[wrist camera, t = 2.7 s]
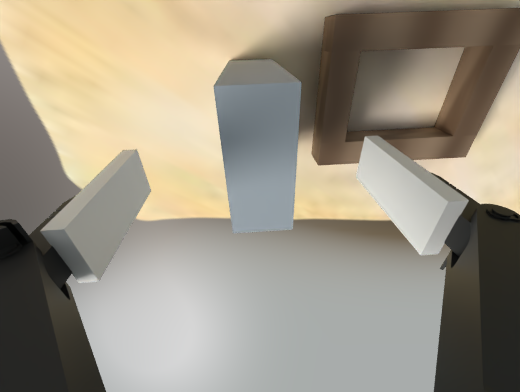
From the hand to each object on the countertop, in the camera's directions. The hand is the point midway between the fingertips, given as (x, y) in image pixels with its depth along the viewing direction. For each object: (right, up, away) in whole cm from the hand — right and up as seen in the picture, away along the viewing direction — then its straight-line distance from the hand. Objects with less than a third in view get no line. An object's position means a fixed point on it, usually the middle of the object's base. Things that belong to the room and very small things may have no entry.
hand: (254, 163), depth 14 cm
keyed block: (0, +7, +11) cm, 13 cm away
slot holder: (+15, +9, +11) cm, 20 cm away
